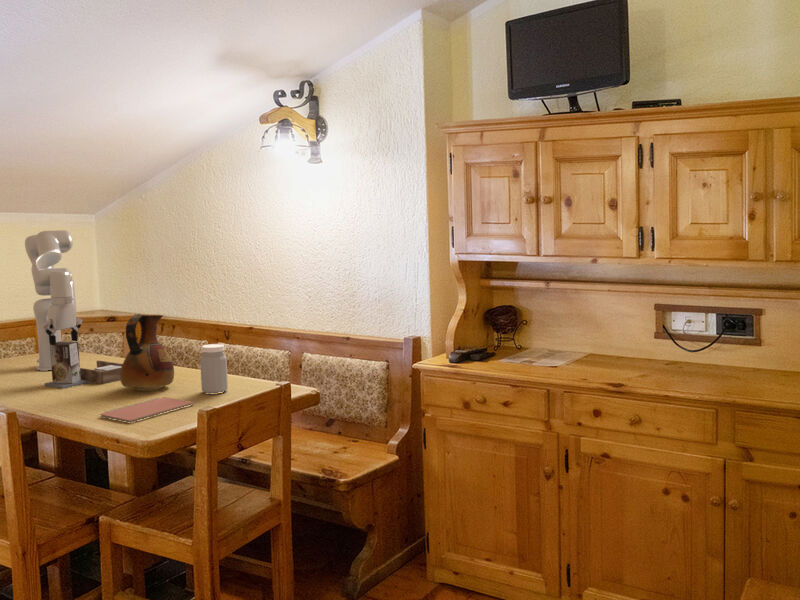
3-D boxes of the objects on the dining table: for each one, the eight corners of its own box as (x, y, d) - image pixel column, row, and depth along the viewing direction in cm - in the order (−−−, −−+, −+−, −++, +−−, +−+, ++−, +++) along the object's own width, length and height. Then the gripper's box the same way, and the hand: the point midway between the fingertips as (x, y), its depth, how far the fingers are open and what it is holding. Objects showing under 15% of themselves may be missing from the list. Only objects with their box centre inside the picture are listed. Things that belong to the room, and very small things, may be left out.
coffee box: (81, 380, 308) (79, 341, 306) (72, 383, 302) (69, 344, 300) (61, 379, 310) (59, 341, 308) (51, 383, 303) (48, 343, 301)
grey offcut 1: (95, 380, 313) (94, 368, 313) (112, 376, 320) (111, 365, 319) (100, 381, 311) (100, 369, 311) (117, 377, 318) (117, 366, 317)
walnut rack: (68, 378, 317) (67, 366, 316) (99, 371, 330) (98, 360, 329) (103, 384, 305) (102, 371, 304) (134, 376, 318) (133, 365, 317)
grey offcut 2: (102, 381, 311) (101, 369, 311) (119, 377, 318) (118, 365, 317) (107, 382, 309) (107, 370, 308) (124, 378, 315) (124, 367, 315)
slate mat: (44, 385, 304) (44, 383, 303) (71, 379, 314) (71, 377, 314) (62, 389, 297) (62, 386, 297) (89, 382, 307) (89, 380, 307)
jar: (211, 396, 281) (209, 348, 279) (196, 392, 287) (194, 346, 285) (233, 391, 288) (231, 345, 286) (217, 387, 295) (215, 342, 293)
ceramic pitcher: (185, 385, 301) (181, 310, 297) (152, 396, 282) (148, 317, 278) (144, 382, 307) (140, 309, 304) (110, 393, 288) (105, 316, 285)
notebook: (162, 401, 277) (162, 395, 277) (194, 406, 268) (194, 401, 268) (97, 418, 254) (97, 412, 254) (130, 425, 245) (129, 419, 245)
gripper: (74, 297, 311) (77, 338, 313) (35, 303, 296) (38, 345, 299) (86, 299, 307) (88, 340, 309) (47, 304, 292) (50, 347, 295)
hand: (64, 342), depth 304 cm, fingers open, 9 cm apart
